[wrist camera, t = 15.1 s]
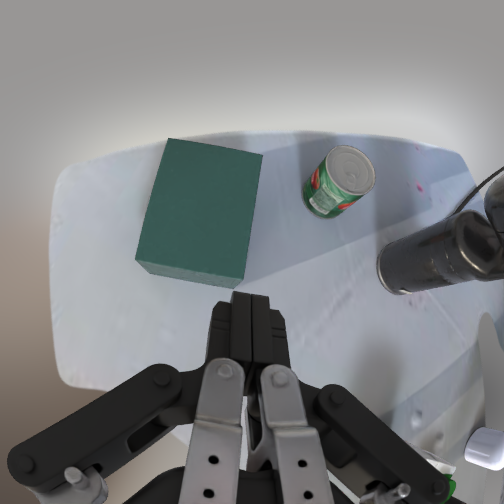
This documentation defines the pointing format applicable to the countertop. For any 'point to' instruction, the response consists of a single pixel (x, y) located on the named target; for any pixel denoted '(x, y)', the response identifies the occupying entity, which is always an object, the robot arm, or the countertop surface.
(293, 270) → the countertop surface
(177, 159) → the case lid
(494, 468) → the spray bottle
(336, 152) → the canned tomato
